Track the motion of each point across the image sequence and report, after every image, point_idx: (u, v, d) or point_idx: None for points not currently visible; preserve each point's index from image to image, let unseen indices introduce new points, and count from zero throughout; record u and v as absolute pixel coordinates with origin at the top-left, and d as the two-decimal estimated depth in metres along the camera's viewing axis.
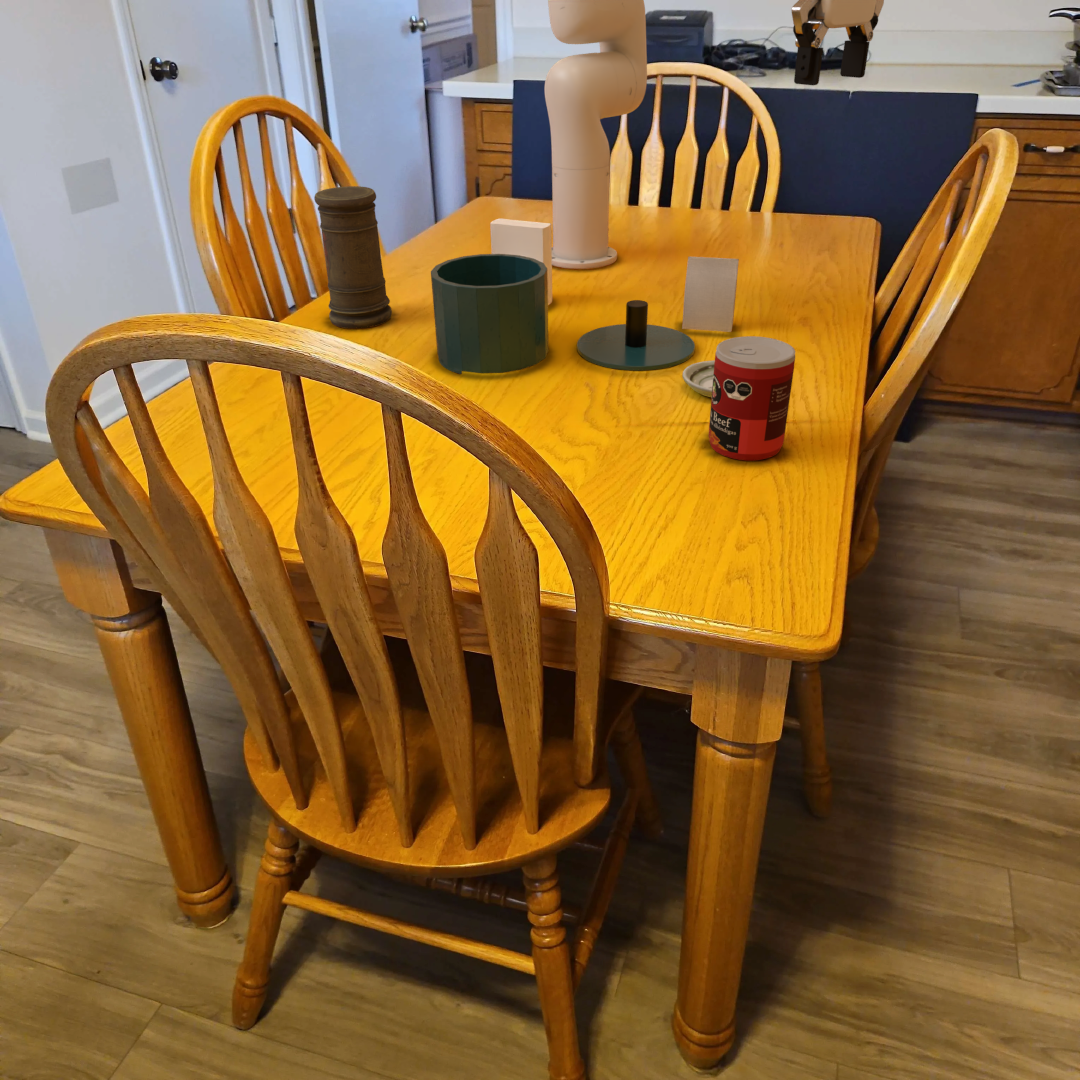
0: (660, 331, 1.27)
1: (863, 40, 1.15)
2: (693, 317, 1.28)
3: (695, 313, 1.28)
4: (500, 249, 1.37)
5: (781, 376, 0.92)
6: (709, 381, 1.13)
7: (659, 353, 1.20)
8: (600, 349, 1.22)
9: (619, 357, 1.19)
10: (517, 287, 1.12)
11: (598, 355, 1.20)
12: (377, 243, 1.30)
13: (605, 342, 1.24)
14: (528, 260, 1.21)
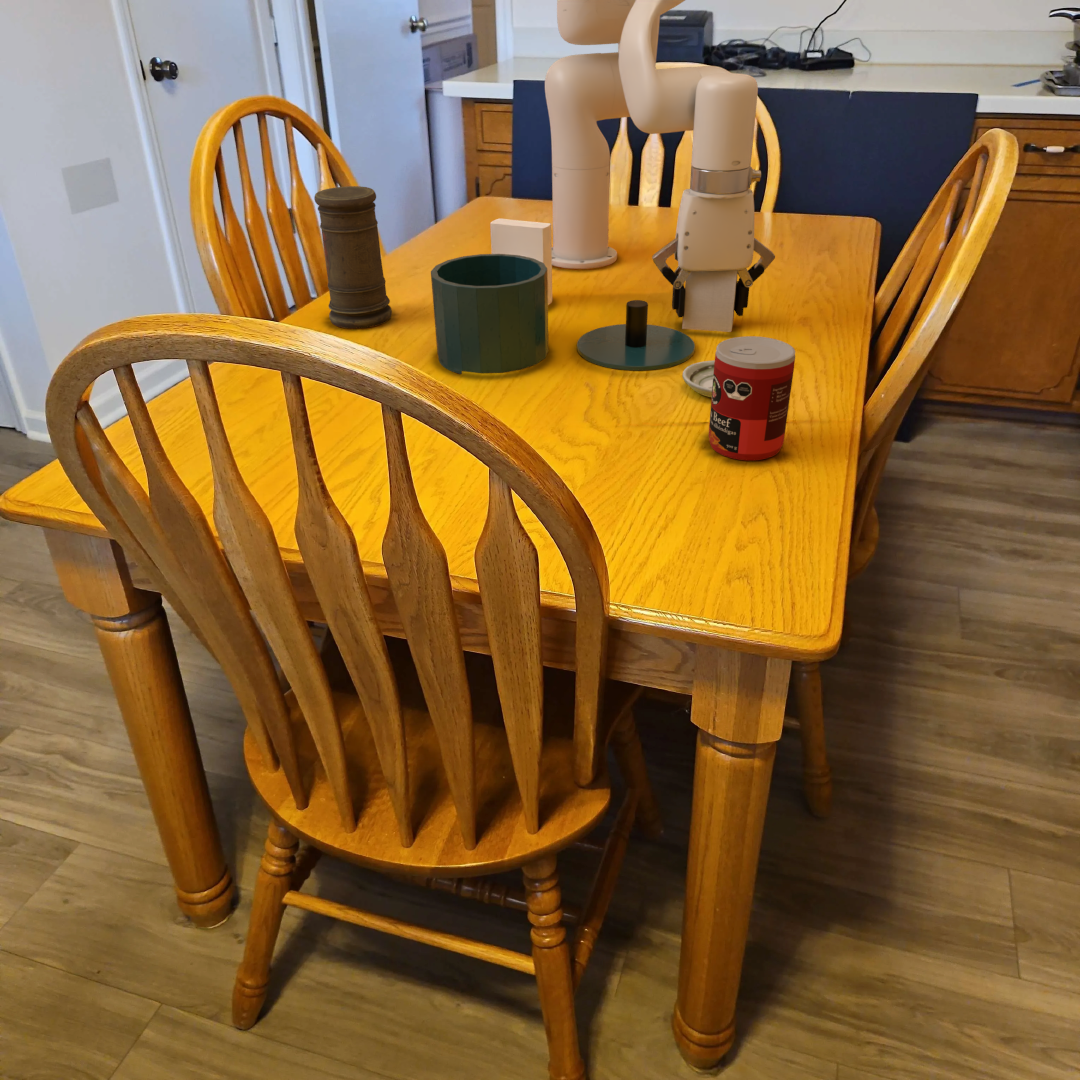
0: (660, 331, 1.27)
1: (743, 285, 1.26)
2: (693, 317, 1.28)
3: (695, 313, 1.28)
4: (500, 249, 1.37)
5: (781, 376, 0.92)
6: (709, 381, 1.13)
7: (659, 353, 1.20)
8: (600, 349, 1.22)
9: (619, 357, 1.19)
10: (517, 287, 1.12)
11: (598, 355, 1.20)
12: (377, 243, 1.30)
13: (605, 342, 1.24)
14: (528, 260, 1.21)
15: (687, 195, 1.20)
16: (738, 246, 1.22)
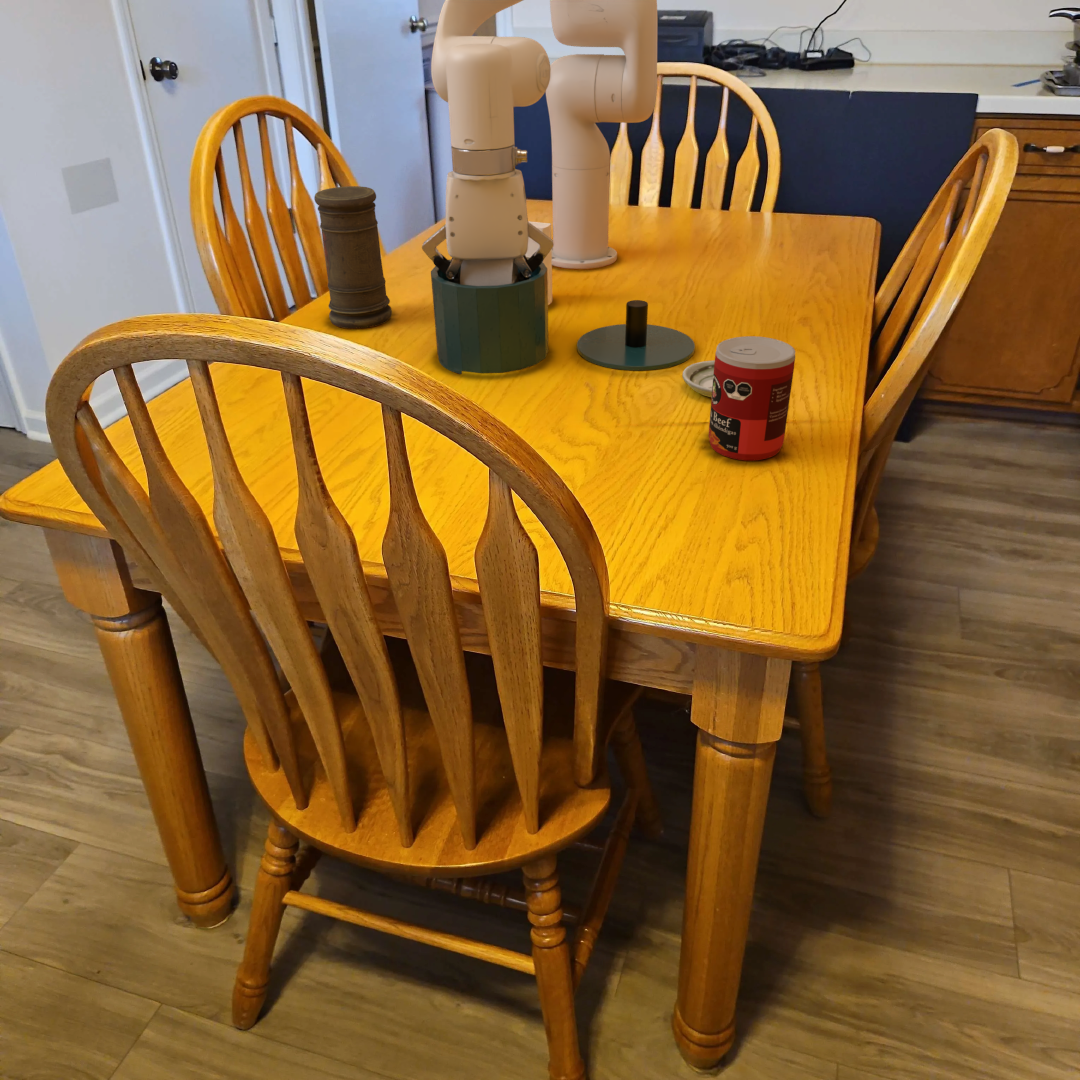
0: (660, 331, 1.27)
1: (522, 275, 1.17)
2: None
3: None
4: None
5: (781, 376, 0.92)
6: (709, 381, 1.13)
7: (659, 353, 1.20)
8: (600, 349, 1.22)
9: (619, 357, 1.19)
10: (517, 287, 1.12)
11: (598, 355, 1.20)
12: (377, 243, 1.30)
13: (605, 342, 1.24)
14: None
15: (448, 177, 1.10)
16: (509, 232, 1.13)
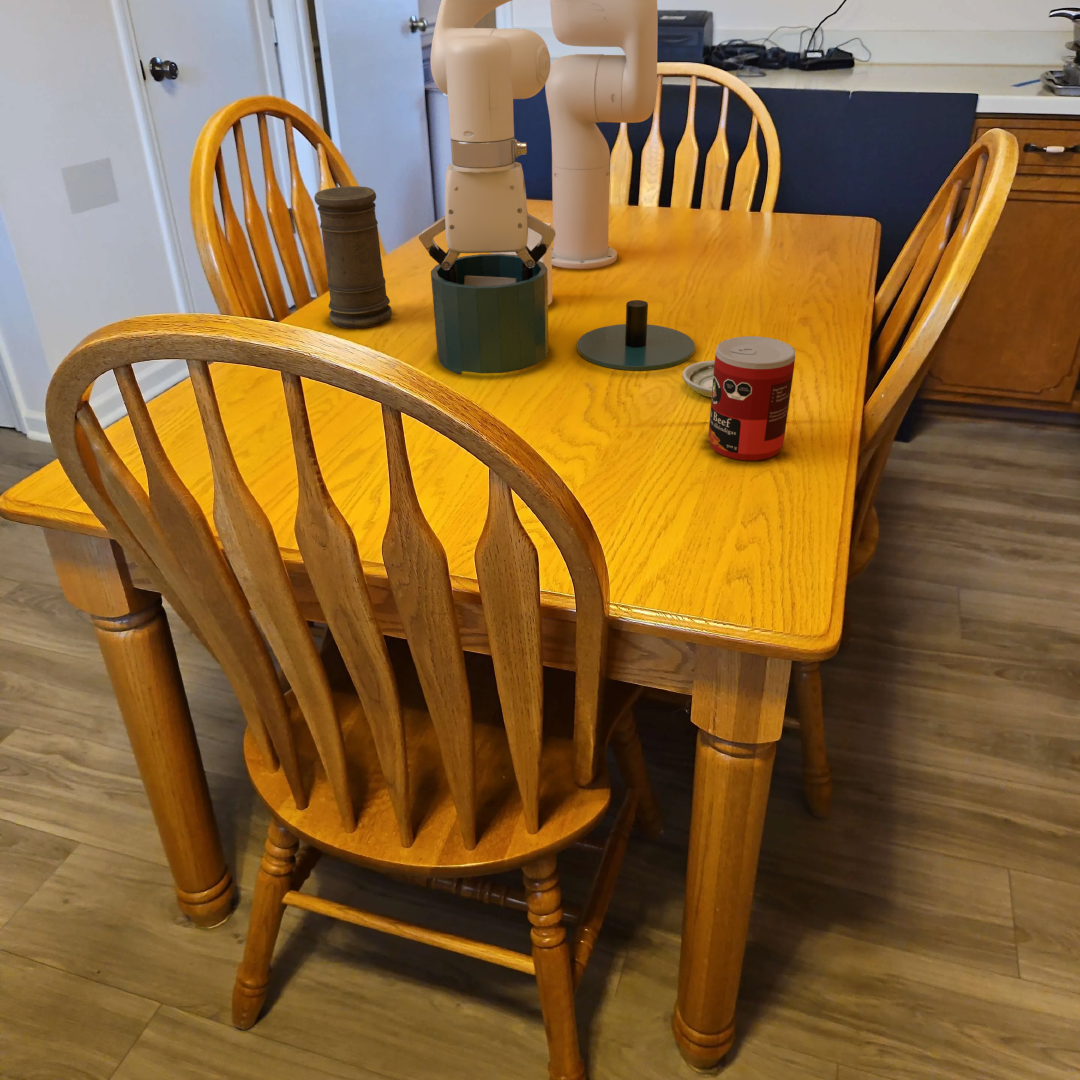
0: (660, 331, 1.27)
1: (525, 266, 1.17)
2: None
3: None
4: None
5: (781, 376, 0.92)
6: (709, 381, 1.13)
7: (659, 353, 1.20)
8: (600, 349, 1.22)
9: (619, 357, 1.19)
10: (517, 287, 1.12)
11: (598, 355, 1.20)
12: (377, 243, 1.30)
13: (605, 342, 1.24)
14: None
15: (448, 170, 1.10)
16: (508, 225, 1.12)
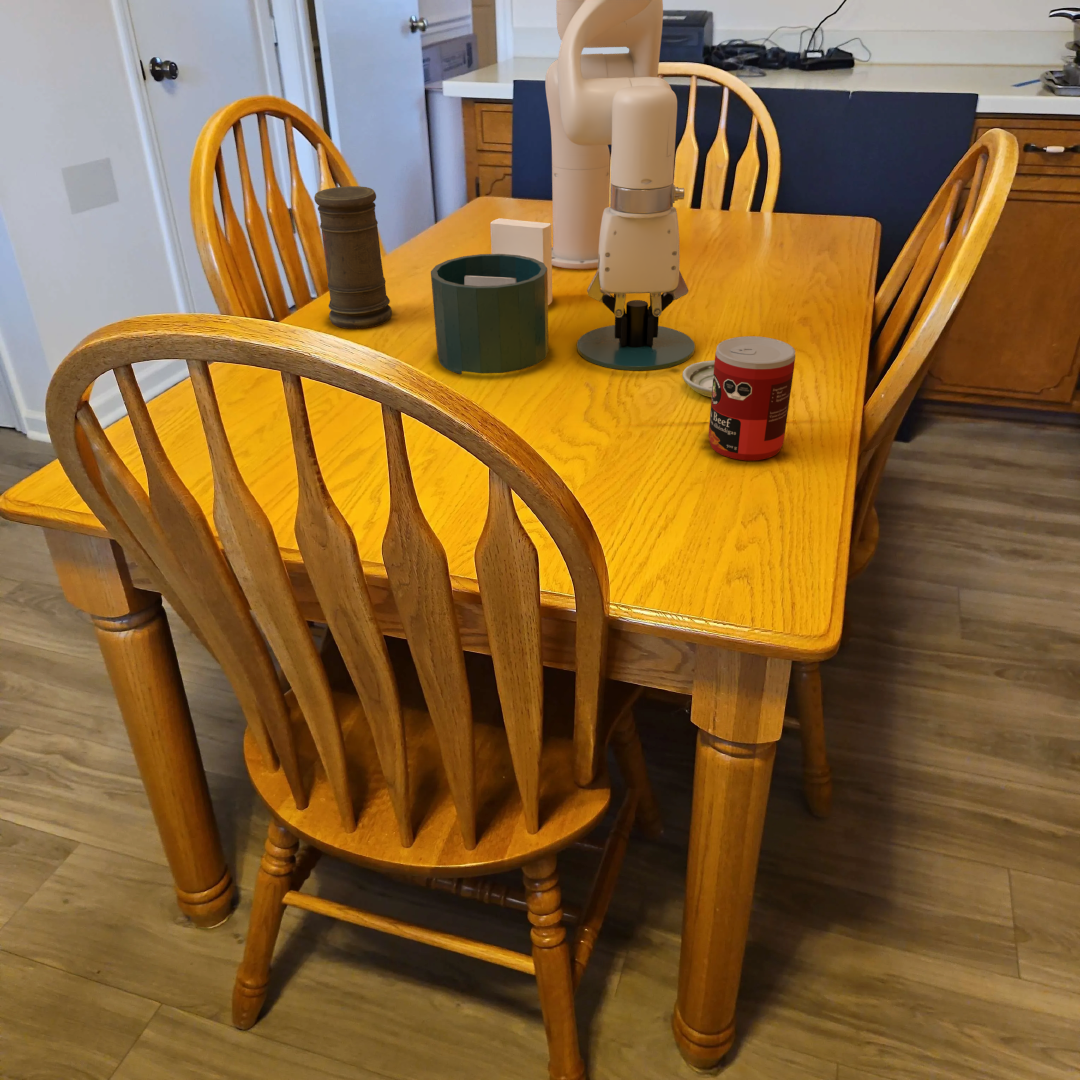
0: (660, 331, 1.27)
1: (652, 314, 1.20)
2: None
3: None
4: (500, 249, 1.37)
5: (781, 376, 0.92)
6: (709, 381, 1.13)
7: (659, 353, 1.20)
8: (600, 349, 1.22)
9: (619, 357, 1.19)
10: (517, 287, 1.12)
11: (598, 355, 1.20)
12: (377, 243, 1.30)
13: (605, 342, 1.24)
14: (528, 260, 1.21)
15: (607, 214, 1.13)
16: (662, 268, 1.15)
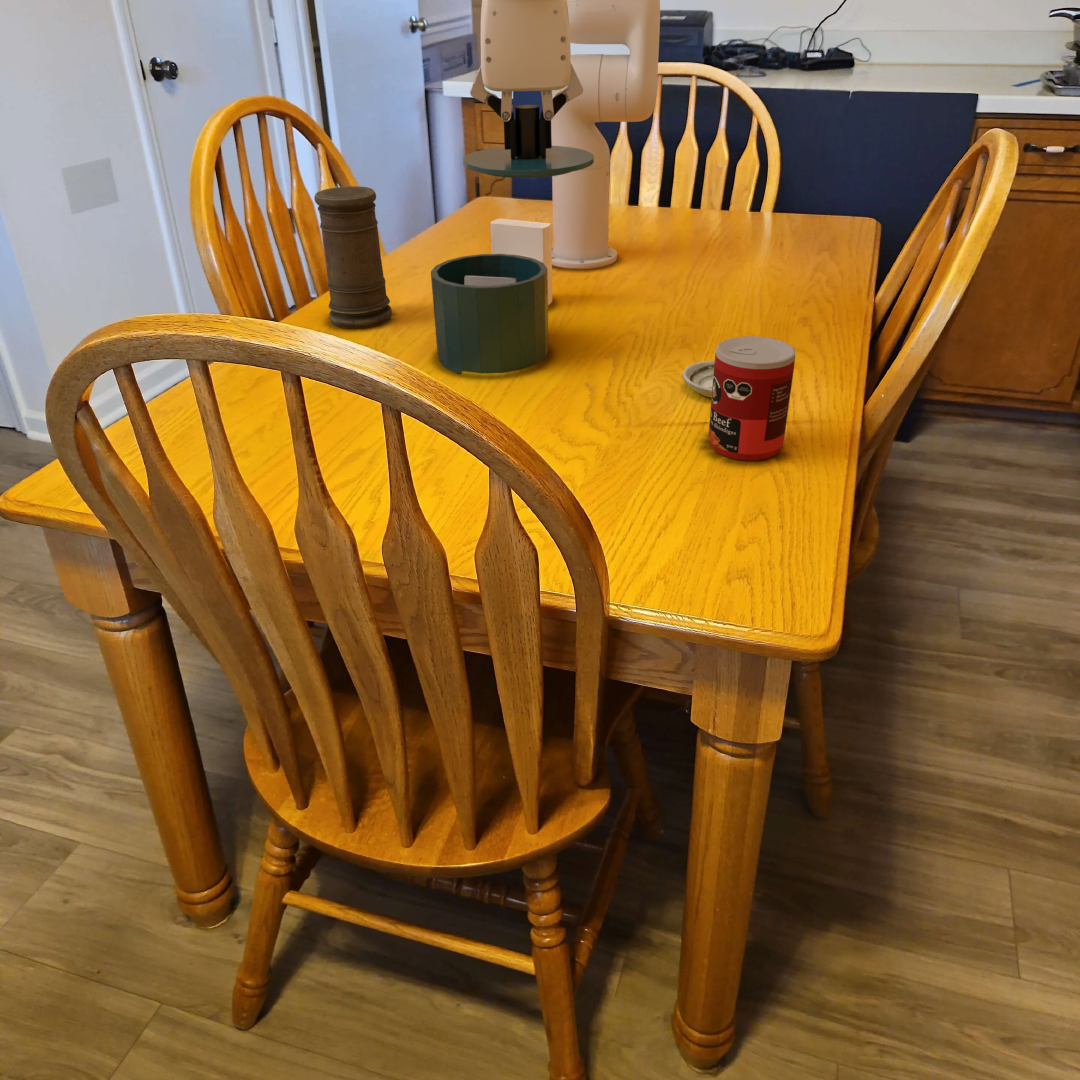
0: (559, 149, 1.14)
1: (543, 119, 1.07)
2: None
3: None
4: (500, 249, 1.37)
5: (781, 376, 0.92)
6: (709, 381, 1.13)
7: (552, 162, 1.07)
8: (487, 160, 1.09)
9: (506, 165, 1.06)
10: (517, 287, 1.12)
11: (483, 164, 1.07)
12: (377, 243, 1.30)
13: (495, 156, 1.11)
14: (528, 260, 1.21)
15: None
16: (550, 57, 1.03)
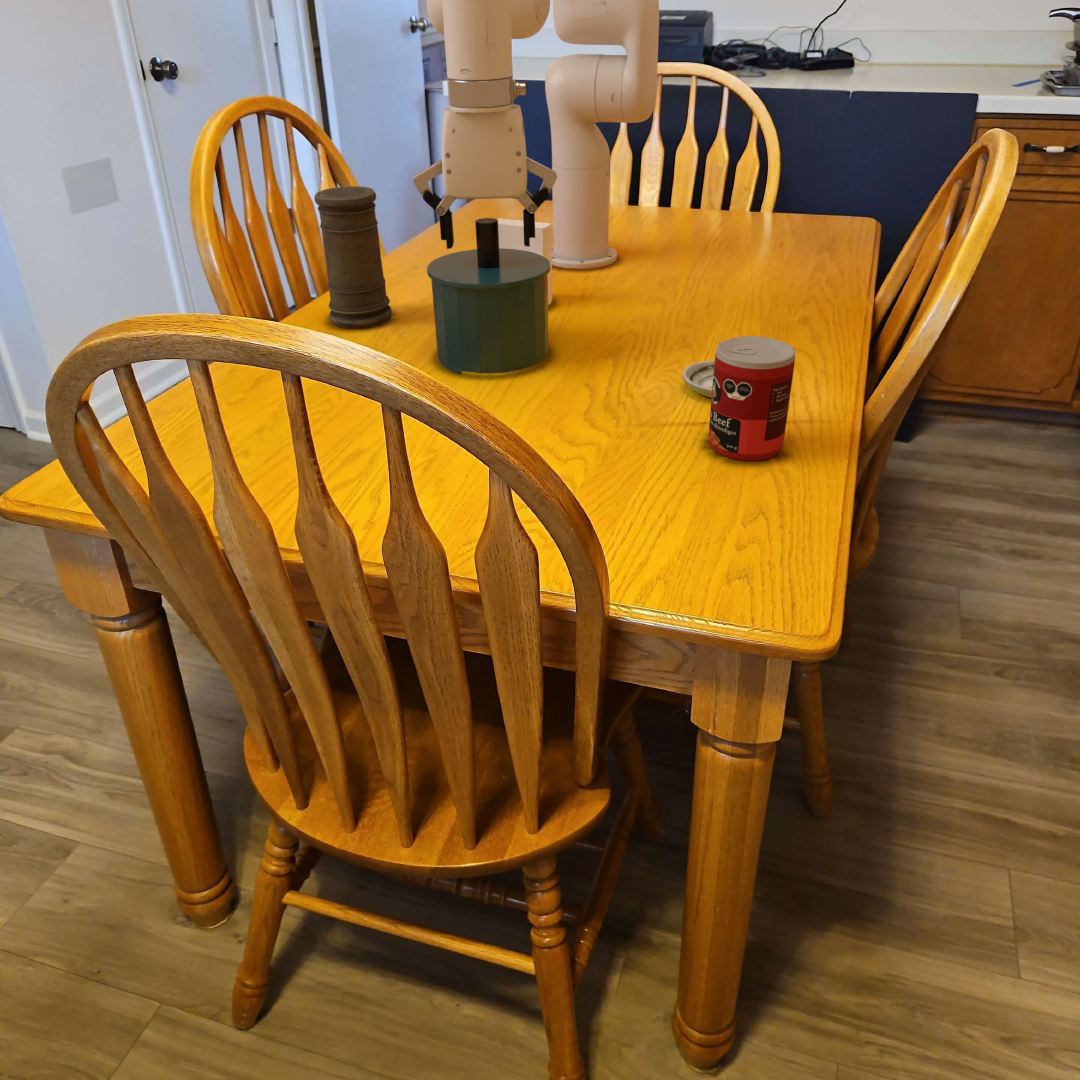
0: (519, 255, 1.21)
1: (527, 211, 1.13)
2: None
3: None
4: None
5: (781, 376, 0.92)
6: (709, 381, 1.13)
7: (509, 273, 1.14)
8: (449, 270, 1.16)
9: (466, 276, 1.13)
10: (517, 287, 1.12)
11: (445, 275, 1.14)
12: (377, 243, 1.30)
13: (458, 264, 1.18)
14: None
15: (445, 111, 1.07)
16: (507, 170, 1.09)
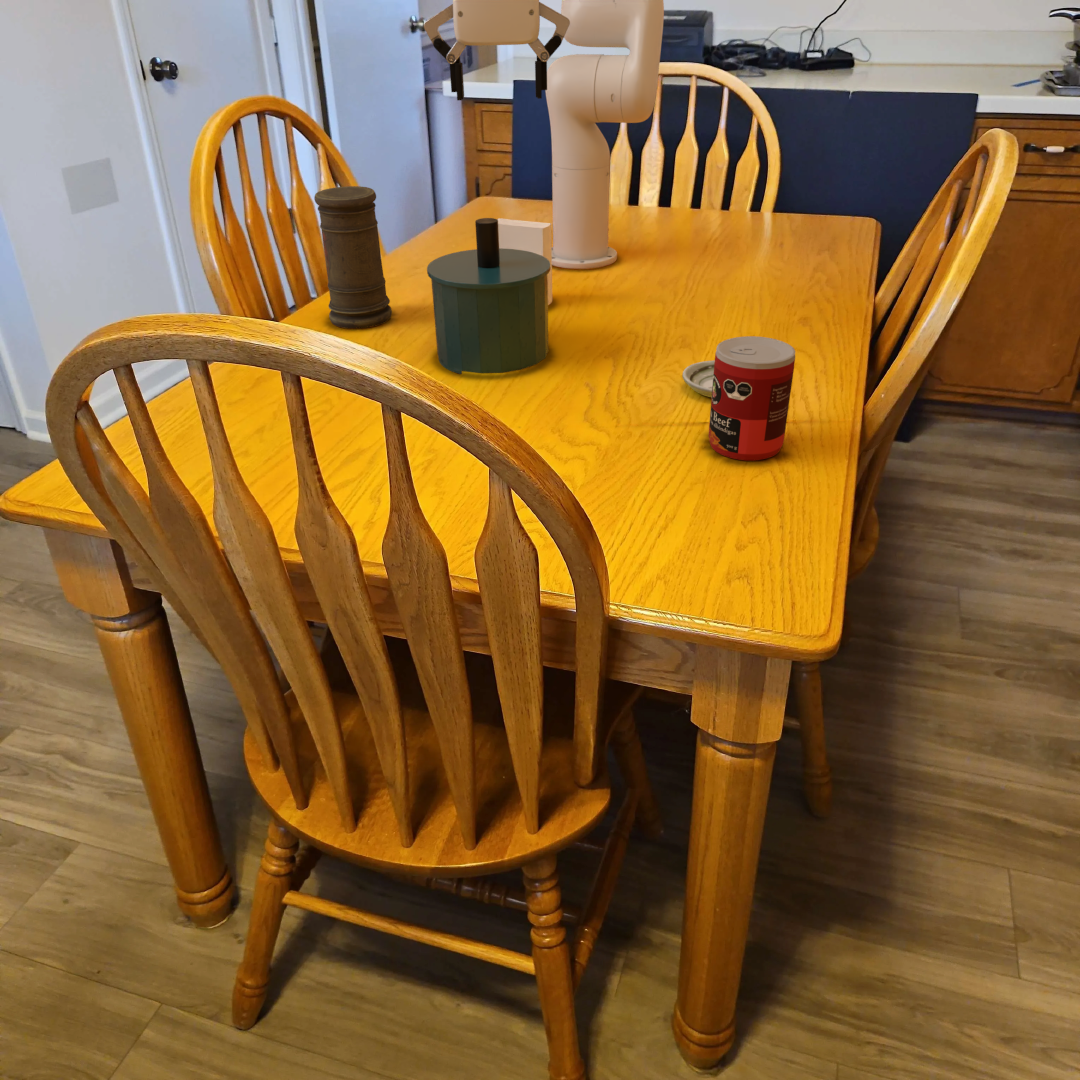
0: (519, 255, 1.21)
1: (539, 60, 1.11)
2: None
3: None
4: None
5: (781, 376, 0.92)
6: (709, 381, 1.13)
7: (509, 273, 1.14)
8: (449, 270, 1.16)
9: (466, 276, 1.13)
10: (517, 287, 1.12)
11: (445, 275, 1.14)
12: (377, 243, 1.30)
13: (458, 264, 1.18)
14: None
15: None
16: (519, 12, 1.07)
